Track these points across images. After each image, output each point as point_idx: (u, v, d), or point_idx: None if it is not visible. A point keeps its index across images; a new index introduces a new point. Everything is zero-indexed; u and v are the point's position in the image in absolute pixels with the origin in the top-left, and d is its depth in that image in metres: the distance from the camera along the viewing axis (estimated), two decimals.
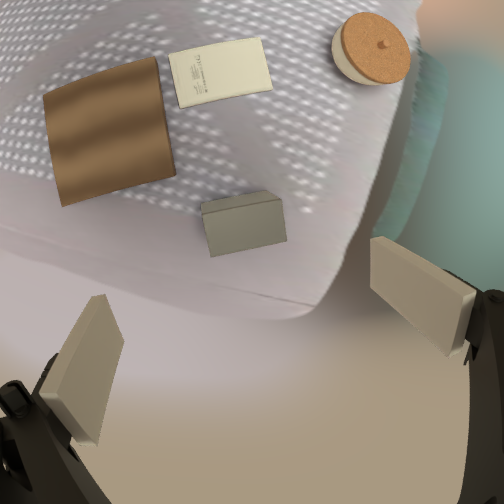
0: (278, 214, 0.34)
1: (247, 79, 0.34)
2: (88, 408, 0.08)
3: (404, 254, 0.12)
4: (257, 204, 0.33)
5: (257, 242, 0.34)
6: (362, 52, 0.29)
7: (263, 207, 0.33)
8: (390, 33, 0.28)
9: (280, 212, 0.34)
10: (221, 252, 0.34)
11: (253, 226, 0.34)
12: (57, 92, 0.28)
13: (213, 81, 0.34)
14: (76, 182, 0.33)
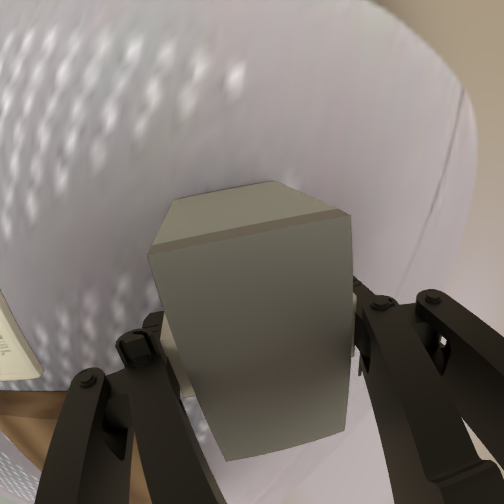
0: (221, 264, 0.07)
1: None
2: None
3: None
4: (180, 348, 0.08)
5: (334, 333, 0.08)
6: None
7: (190, 329, 0.07)
8: None
9: (211, 256, 0.07)
10: (339, 415, 0.10)
11: (270, 355, 0.08)
12: None
13: None
14: None
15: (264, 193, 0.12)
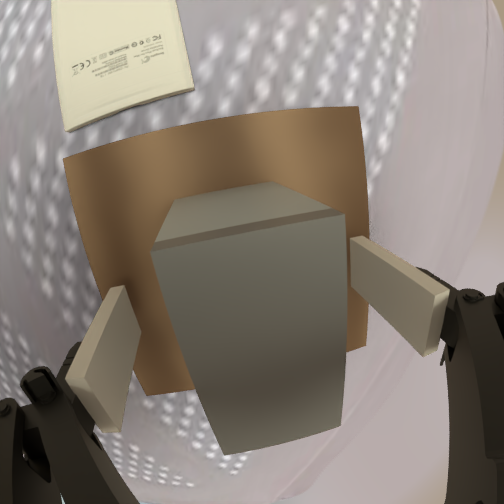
0: (220, 261, 0.07)
1: None
2: (112, 394, 0.09)
3: (380, 253, 0.12)
4: (181, 341, 0.08)
5: (329, 329, 0.09)
6: None
7: (191, 323, 0.08)
8: None
9: (211, 252, 0.07)
10: (335, 410, 0.10)
11: (267, 349, 0.09)
12: (142, 371, 0.17)
13: (136, 27, 0.13)
14: None
15: (263, 193, 0.12)
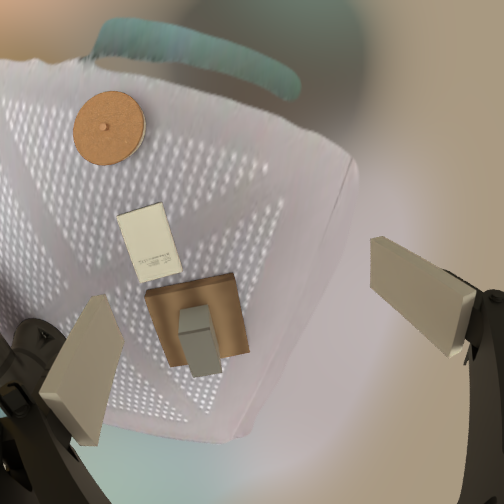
0: (189, 337, 0.43)
1: (155, 223, 0.47)
2: (88, 408, 0.08)
3: (404, 254, 0.12)
4: (183, 349, 0.44)
5: (211, 348, 0.45)
6: (118, 146, 0.36)
7: (185, 346, 0.44)
8: (89, 116, 0.34)
9: (187, 335, 0.43)
10: (218, 367, 0.46)
11: (199, 351, 0.45)
12: (169, 358, 0.54)
13: (160, 249, 0.49)
14: (234, 342, 0.55)
15: (201, 314, 0.48)
